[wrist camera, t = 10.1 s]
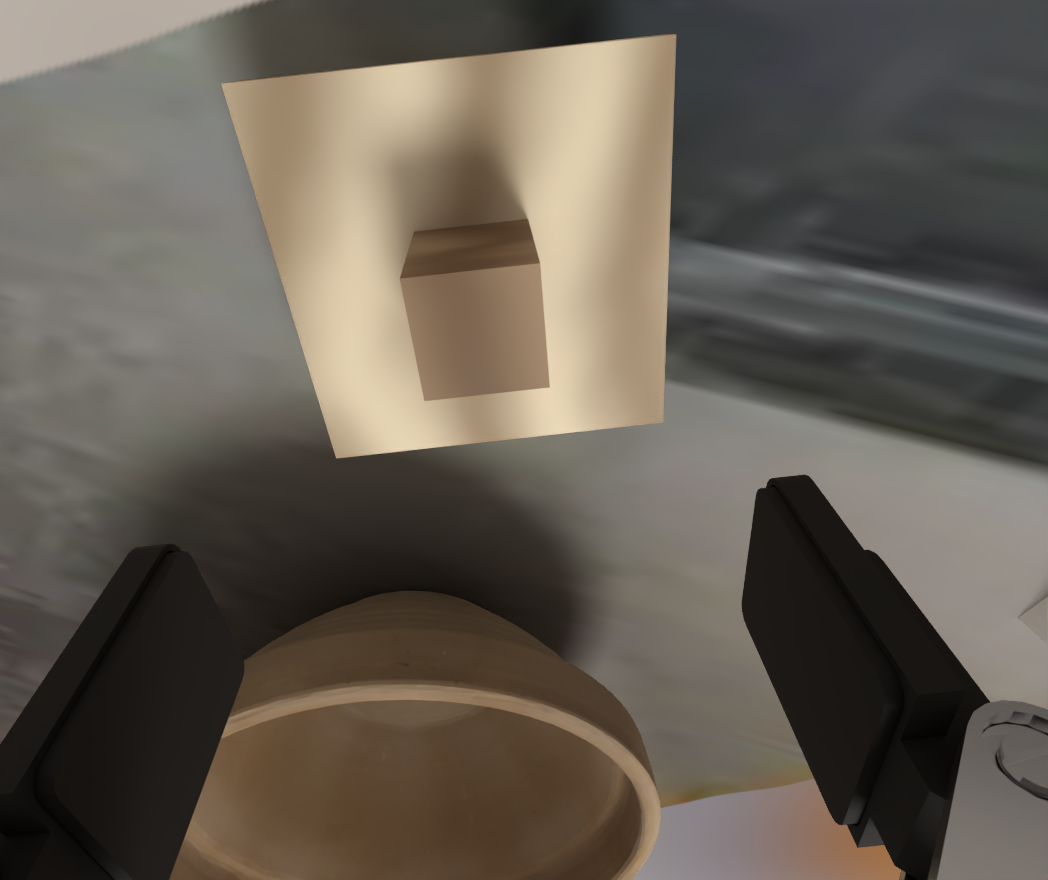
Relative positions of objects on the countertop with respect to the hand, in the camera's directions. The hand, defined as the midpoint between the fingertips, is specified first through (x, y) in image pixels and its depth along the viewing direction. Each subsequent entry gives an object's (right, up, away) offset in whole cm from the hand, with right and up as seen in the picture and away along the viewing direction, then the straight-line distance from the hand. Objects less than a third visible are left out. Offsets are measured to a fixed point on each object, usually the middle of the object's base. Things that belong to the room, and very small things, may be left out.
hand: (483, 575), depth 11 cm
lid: (-1, +9, +13) cm, 16 cm away
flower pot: (-7, -13, +34) cm, 37 cm away
